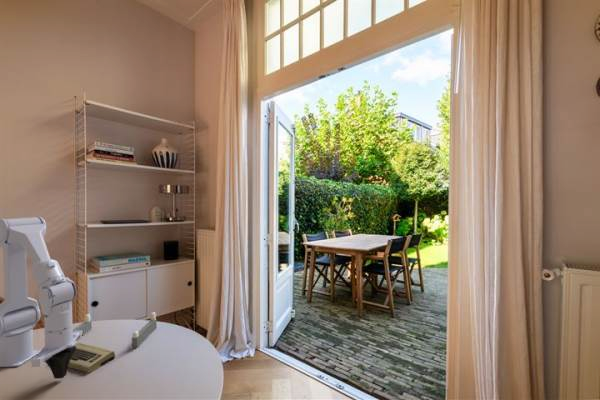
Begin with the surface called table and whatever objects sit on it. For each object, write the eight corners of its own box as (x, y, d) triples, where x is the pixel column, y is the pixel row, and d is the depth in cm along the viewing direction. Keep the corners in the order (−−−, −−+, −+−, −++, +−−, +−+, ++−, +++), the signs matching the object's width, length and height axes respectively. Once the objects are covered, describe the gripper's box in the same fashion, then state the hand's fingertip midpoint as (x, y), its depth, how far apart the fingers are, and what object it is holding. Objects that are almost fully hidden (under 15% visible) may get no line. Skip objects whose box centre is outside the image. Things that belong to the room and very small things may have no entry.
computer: (52, 364, 84) (51, 353, 84) (80, 350, 92) (80, 340, 92) (88, 375, 79) (88, 364, 79) (115, 359, 87) (115, 349, 87)
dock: (56, 351, 91) (56, 332, 91) (87, 329, 105) (86, 314, 105) (137, 348, 92) (136, 330, 92) (156, 327, 106) (156, 312, 106)
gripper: (52, 341, 69) (53, 395, 69) (92, 315, 83) (93, 360, 84) (21, 341, 69) (23, 396, 69) (67, 315, 83) (69, 361, 83)
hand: (60, 376), depth 76 cm, fingers closed
